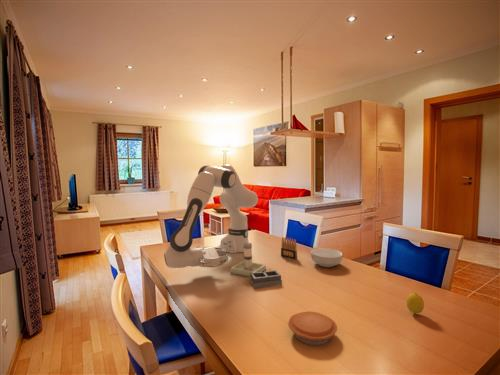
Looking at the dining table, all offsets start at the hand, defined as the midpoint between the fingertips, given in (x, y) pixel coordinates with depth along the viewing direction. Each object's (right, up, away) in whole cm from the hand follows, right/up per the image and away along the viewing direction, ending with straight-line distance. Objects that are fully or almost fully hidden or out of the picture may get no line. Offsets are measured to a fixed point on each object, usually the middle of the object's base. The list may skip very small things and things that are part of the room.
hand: (226, 254), depth 143 cm
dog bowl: (-10, -9, +25) cm, 28 cm away
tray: (+11, -10, +4) cm, 16 cm away
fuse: (+11, -9, +4) cm, 15 cm away
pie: (+32, -14, -51) cm, 62 cm away
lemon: (+73, -13, -40) cm, 84 cm away
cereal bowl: (+54, -9, +12) cm, 56 cm away
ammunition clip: (+35, -8, +26) cm, 44 cm away
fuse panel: (+19, -11, -10) cm, 24 cm away
